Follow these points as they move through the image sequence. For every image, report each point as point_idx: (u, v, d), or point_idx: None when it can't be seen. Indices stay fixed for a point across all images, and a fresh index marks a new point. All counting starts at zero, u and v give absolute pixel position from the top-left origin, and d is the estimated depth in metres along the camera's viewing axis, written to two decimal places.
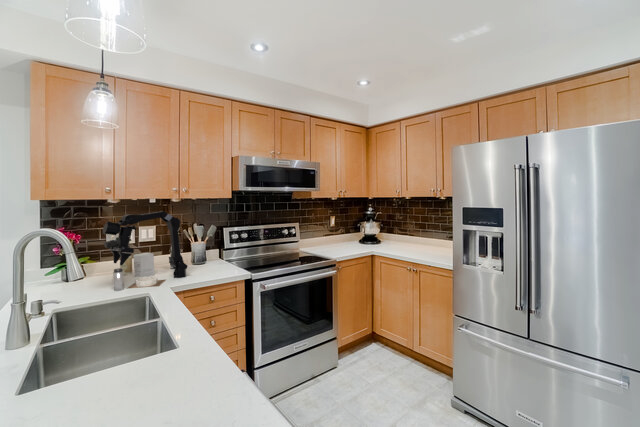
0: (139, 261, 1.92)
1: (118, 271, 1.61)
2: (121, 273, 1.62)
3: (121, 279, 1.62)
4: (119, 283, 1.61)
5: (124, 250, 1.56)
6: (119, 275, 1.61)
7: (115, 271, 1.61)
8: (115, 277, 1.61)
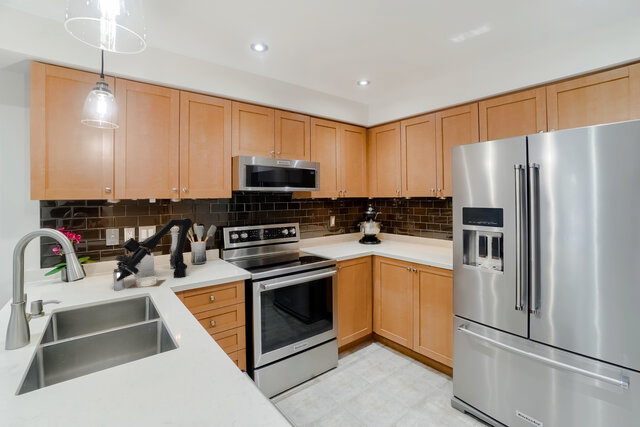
0: None
1: (118, 271, 1.61)
2: None
3: None
4: (119, 283, 1.61)
5: (130, 268, 1.59)
6: (119, 275, 1.61)
7: (115, 271, 1.61)
8: (115, 277, 1.61)
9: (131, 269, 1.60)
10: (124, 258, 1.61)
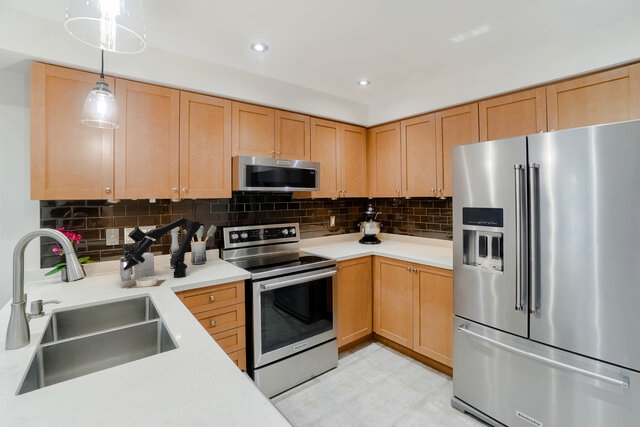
0: (139, 261, 1.92)
1: (125, 260, 1.64)
2: None
3: None
4: (126, 272, 1.64)
5: (137, 257, 1.62)
6: (126, 264, 1.64)
7: (122, 260, 1.63)
8: (122, 266, 1.63)
9: (138, 258, 1.62)
10: (130, 247, 1.64)
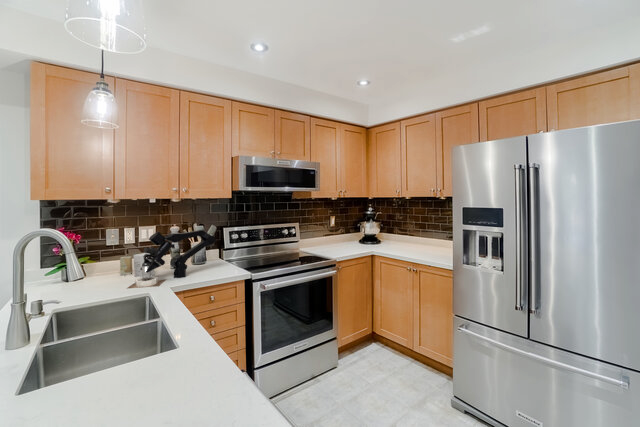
0: (139, 261, 1.92)
1: (146, 265, 1.72)
2: None
3: (149, 272, 1.73)
4: (147, 276, 1.72)
5: (157, 259, 1.70)
6: None
7: (143, 265, 1.72)
8: (144, 271, 1.72)
9: (158, 261, 1.70)
10: (151, 250, 1.72)
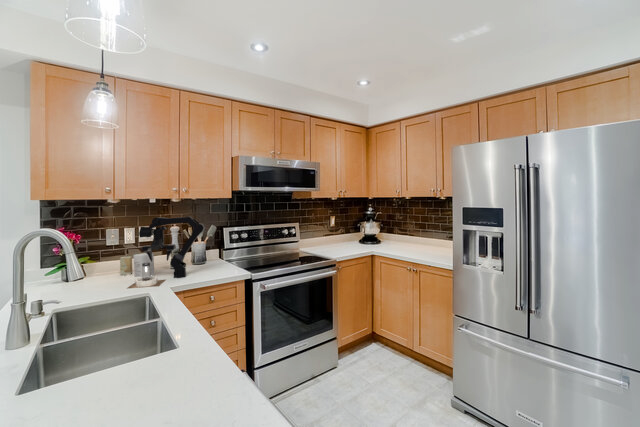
0: (139, 261, 1.92)
1: (146, 265, 1.72)
2: (149, 267, 1.73)
3: (149, 272, 1.73)
4: (147, 276, 1.72)
5: (174, 247, 1.86)
6: (147, 269, 1.72)
7: (143, 265, 1.72)
8: (144, 271, 1.72)
9: (174, 248, 1.87)
10: (163, 245, 1.81)
